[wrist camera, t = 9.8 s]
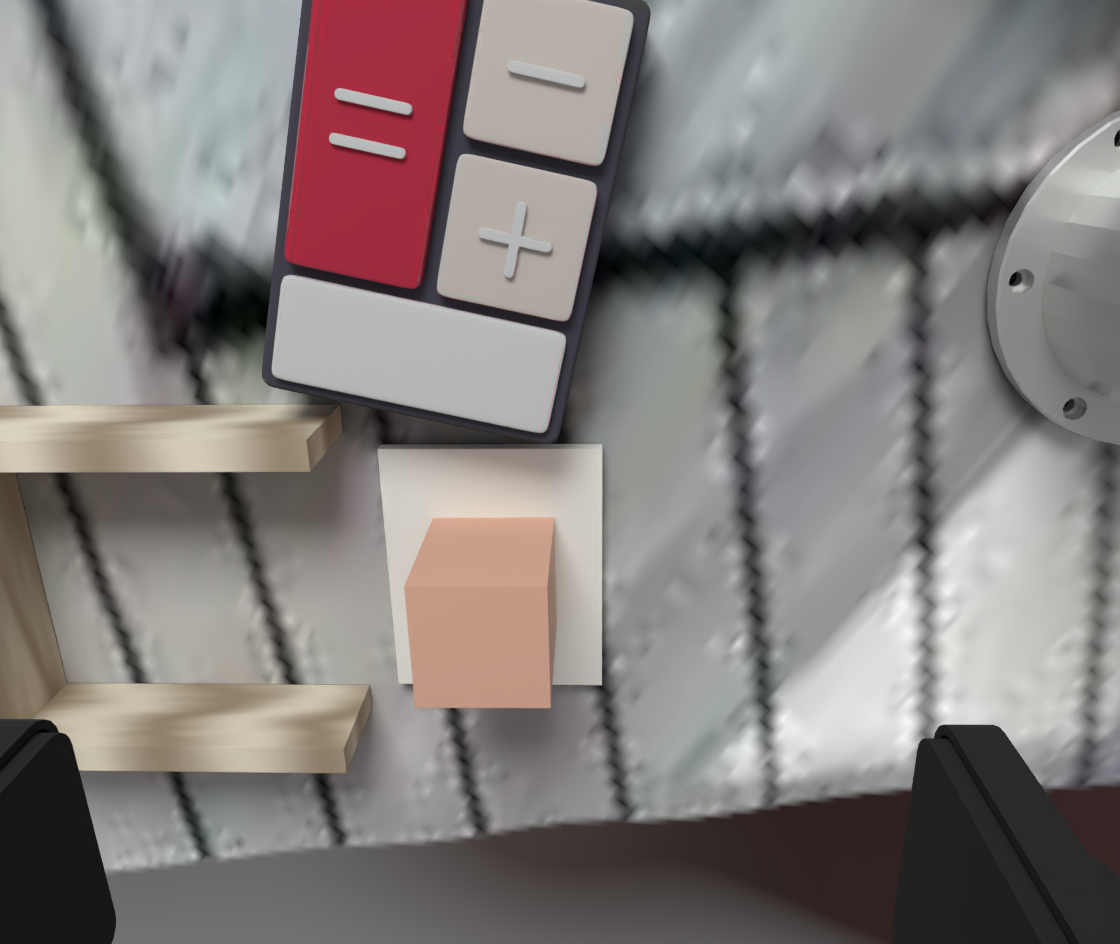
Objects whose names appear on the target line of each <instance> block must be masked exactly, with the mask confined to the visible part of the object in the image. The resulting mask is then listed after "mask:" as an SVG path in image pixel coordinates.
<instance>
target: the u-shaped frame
mask: <svg viewBox="0 0 1120 944" xmlns="http://www.w3.org/2000/svg"><path fill="white" fill-rule="evenodd" d="M342 434H343V428H342V419H341V409H340V404H328V405H122V406H0V719H46V720H49V721H52V722H53V723H54V724H55V725H56V726H57V729H58V731H59V733H64V734H66V735H67V736H68V737H69V738H70V740H71V742H72V745H73V749H74V753H75V757H76V761H77V765H78V769H79V770H81V771H176V772H270V773H347V771H348V768H349V765H350V763H351V760H352V758H353V755H354V753H355V750H356V747H357V745H358V742H359V740H360V737H361V735H362V732H363V729H364V727H365V724H366V722H367V719H368V716H369V714H370V711H371V709H372V704H371V694H370V685H255V684H110V683H67V682H66V678H65V674H64V670H63V666H62V661H61V657H60V653H59V649H58V645H57V641H56V637H55V633H54V629H53V625H52V621H51V617H50V612H49V608H48V604H47V600H46V596H45V592H44V588H43V584H42V580H41V576H40V572H39V567H38V563H37V559H36V555H35V551H34V547H33V543H32V539H31V535H30V531H29V527H28V523H27V518H26V514H25V510H24V506H23V502H22V498H21V494H20V490H19V486H18V482H17V478H16V473H15V472H310V471H311V470H312V469H313V468H314V467H315V465H316V464H317V463H318V462H319V461H320V459H321V458H322V457H323V456H324V455H325V454H326V452H327V451H328V450H329V449H330V448H331V446H332V445H333V444H334V443H335V442H336V441H337V439H338V438H339V437H340V436H341V435H342Z"/></svg>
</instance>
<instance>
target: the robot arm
mask: <svg viewBox="0 0 1120 944" xmlns="http://www.w3.org/2000/svg"><path fill="white" fill-rule="evenodd" d="M1117 132H1118V133H1119V137H1120V110H1119V111H1117V112H1114V113H1113V114H1111V115H1109V116H1108V117H1106V118H1104V119H1103V120H1101V121H1100V122H1098V123H1096V124H1095V125H1093V126H1091V127H1090V128H1088V129H1087V130H1085V131H1083V132H1082V133H1080V134H1079V135H1078V136H1077V137H1076V138H1074V139H1073V140H1072V141H1071V142H1070V143H1069V144H1067V145H1066V146H1065V147H1064V148H1063V149H1062V150H1060V151H1059V152H1058V153H1057V154H1056V155H1055V156H1054V157H1052V158H1051V159H1050V160H1049V162H1048V163H1047V164H1046V165H1045V166H1044V168H1043V169H1042V170H1041V171H1040V172H1039V173H1038V175H1037V176H1036V177H1035V178H1034V179H1033V181H1032V182H1031V183H1030V184H1029V185H1028V186H1027V188H1026V189H1025V191H1024V192H1023V194H1022V196H1021V197H1020V199H1019V201H1018V202H1017V204H1016V206H1015V207H1014V209H1013V211H1012V212H1011V214H1010V216H1009V217H1008V219H1007V221H1006V224H1005V226H1004V229H1003V231H1002V234H1001V236H1000V239H999V242H998V244H997V247H996V249H995V252H994V255H993V260H992V265H991V270H990V275H989V280H988V285H987V320H988V325H989V330H990V335H991V340H992V345H993V349H994V351H995V353H996V356H997V358H998V360H999V363H1000V365H1001V367H1002V369H1003V372H1004V374H1005V375H1006V377H1007V378H1008V380H1009V381H1010V382H1011V384H1012V385H1013V386H1014V388H1015V389H1016V390H1017V392H1018V393H1019V394H1020V396H1021V397H1022V398H1023V399H1024V400H1025V401H1027V402H1028V403H1029V404H1030V405H1031V406H1033V407H1034V408H1035V409H1036V410H1037V411H1038V412H1040V413H1041V414H1042V415H1043V416H1045V417H1046V418H1048V419H1050V420H1051V421H1053V422H1054V423H1056V424H1058V425H1059V426H1061V427H1063V428H1064V429H1066V430H1069V431H1072V432H1074V433H1077V434H1079V435H1082V436H1084V437H1087V438H1089V439H1092V440H1095V441H1100V442H1106V443H1111V444H1117V445H1120V138H1119V141H1118V143H1117V144H1115V145H1114V138H1115V135H1116V133H1117ZM1015 272H1016V274H1017V278H1016V281H1015V282H1014V283H1012V284H1010V285H1009V280H1010V278H1011V275H1012V274H1013V273H1015ZM1067 401H1069V402H1068V405H1067V406H1065V407H1064V405H1065V403H1066V402H1067ZM1063 407H1064V408H1063ZM115 928H116V916H115V910H114V906H113V902H112V899H111V894H110V891H109V886H108V883H107V879H106V875H105V871H104V867H103V863H102V859H101V855H100V851H99V847H98V843H97V839H96V835H95V832H94V828H93V824H92V820H91V816H90V812H89V808H88V804H87V800H86V796H85V792H84V788H83V784H82V781H81V777H80V773H79V769H78V765H77V761H76V757H75V753H74V749H73V745H72V742H71V740H70V738H69V737H68V736H67V735H66V734H64V733H59V731H58V729H57V726H56V725H55V724H54V723H53V722H52V721H49V720H46V719H0V944H111V943H112V940H113V938H114V933H115ZM892 944H1120V879H1119V878H1118V877H1117V875H1116V874H1115V873H1114V872H1113V871H1112V870H1111V869H1110V867H1108V865H1107V864H1106V863H1103V862H1102V861H1100V860H1099V859H1097V858H1095V857H1094V858H1093V857H1090V856H1089V855H1088V853H1087V852H1086V850H1085V849H1084V848H1083V846H1082V844H1081V843H1080V842H1079V840H1078V839H1077V837H1076V836H1075V834H1074V833H1073V831H1072V830H1071V828H1070V827H1069V826H1068V824H1067V823H1066V821H1065V820H1064V818H1063V817H1062V815H1061V814H1060V812H1059V811H1058V810H1057V808H1056V807H1055V805H1054V804H1053V802H1052V801H1051V799H1050V798H1049V797H1048V795H1047V794H1046V792H1045V791H1044V789H1043V788H1042V786H1041V785H1040V783H1039V782H1038V781H1037V779H1036V778H1035V776H1034V775H1033V773H1032V772H1031V770H1030V769H1029V768H1028V766H1027V765H1026V763H1025V762H1024V760H1023V759H1022V757H1021V756H1020V754H1019V753H1018V752H1017V750H1016V749H1015V747H1014V746H1013V744H1012V743H1011V741H1010V740H1009V738H1008V737H1007V736H1006V734H1005V733H1004V732H1003V731H1002V730H1001V728H1000V727H998V726H995V725H941V726H939V727H938V729H937V730H936V732H935V736H934V739H927V738H924V739H922V740H921V741H920V743H919V746H918V750H917V757H916V764H915V771H914V777H913V784H912V791H911V798H910V805H909V812H908V819H907V826H906V832H905V839H904V847H903V853H902V859H901V866H900V873H899V880H898V887H897V894H896V901H895V907H894V914H893V921H892Z"/></svg>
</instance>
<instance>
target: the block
mask: <svg viewBox="0 0 1120 944" xmlns="http://www.w3.org/2000/svg"><path fill="white" fill-rule="evenodd" d="M404 592H405V603H406V614H407V625H408V636H409V647H410V658H411V669H412V680H413V691H414V702H415V708H551V698H552V684H553V670H554V656H555V643H556V629H557V611H556V569H555V527H554V517H521V518H433V519H432V521H431V524H430V526H429V528H428V531H427V533H426V535H425V538H424V540H423V543H422V545H421V547H420V550H419V552H418V554H417V557H416V559H415V562H414V564H413V566H412V569H411V571H410V574H409V576H408V578H407V581H406V583H405V585H404Z"/></svg>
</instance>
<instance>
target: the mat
mask: <svg viewBox="0 0 1120 944" xmlns="http://www.w3.org/2000/svg"><path fill="white" fill-rule="evenodd" d="M377 450H378V461H379V472H380V483H381V494H382V505H383V516H384V527H385V538H386V549H387V560H388V570H389V581H390V592H391V603H392V614H393V625H394V636H395V647H396V658H397V669H398V680H399V684H413V680H412V669H411V658H410V647H409V636H408V625H407V614H406V603H405V592H404V585H405V583H406V581H407V578H408V576H409V574H410V571H411V569H412V566H413V564H414V562H415V559H416V557H417V554H418V552H419V550H420V547H421V545H422V543H423V540H424V538H425V535H426V533H427V531H428V528H429V526H430V524H431V521H432V519H433V518H521V517H554V527H555V569H556V611H557V629H556V643H555V656H554V670H553V684H552V685H602V444H384V445H380V446H379V448H378V449H377Z"/></svg>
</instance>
